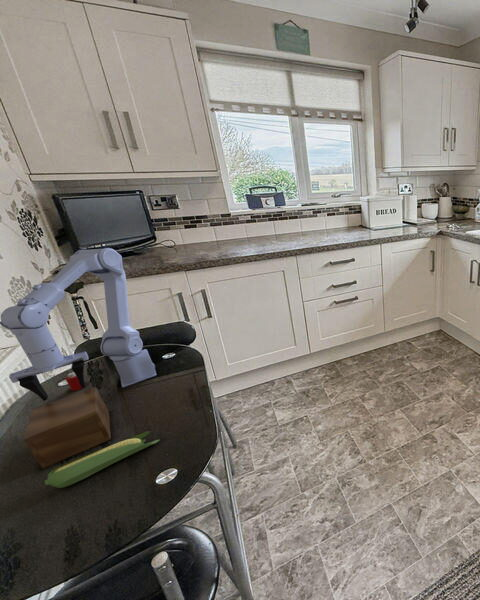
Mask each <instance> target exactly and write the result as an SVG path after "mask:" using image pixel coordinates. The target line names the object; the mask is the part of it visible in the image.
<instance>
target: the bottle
mask: <svg viewBox="0 0 480 600" xmlns="http://www.w3.org/2000/svg"><path fill="white" fill-rule="evenodd" d="M64 380H65V381H66V383H67V385H68V386H69V389H70V391H72V392H75V391H79V390H82V389H83V388H84V387H81V385H80V383H79V380H78V378H77V376H76V375H75V373H74V372H73V371H72V372H70V373H68V374H67V376H66V377H65V379H64ZM85 387H86V385H85Z"/></svg>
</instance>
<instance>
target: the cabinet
mask: <svg viewBox="0 0 480 600" xmlns="http://www.w3.org/2000/svg"><path fill="white" fill-rule="evenodd" d="M110 421H111V420H110V412H109V410H108V408H107V406H106V404H105V402H104V400H103V398H102V396H101V394H100V392H99V389H98V388H97V386H94V387H91V388H89V389H85V390H83V391H80V392H78V393H75V394H72V395H69V396H66V397H63V398H61V399H57V400H55V401H51V402H48V403H46V404H44V405H43V404H42V405H41V406H38V407H35V408H32V409H31V412H30V415H29V419H28V423H27V426H26V430H25V432H24V436H23V441H24V442H25V444H26V446H27V447H28V449H29V450H30V452H31V454H32V455H33V456H34V457H35V459H36V461H37V462H38V464H39V465H40V468H42V469H45V468H48V467H50V466H53V465H55V464H57V463H59V462H62V461H65V460H67V459H69V458H71V457H73V456H76V455H78V454H81V453H83V452H85V451H87V450H90V449H92V448H94V447H96V446H98V445H99V446H100V445H101V444H103V443H106V442H108V441H110V440H111V439H112V438H111V423H110Z"/></svg>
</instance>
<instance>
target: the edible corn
mask: <svg viewBox="0 0 480 600" xmlns="http://www.w3.org/2000/svg"><path fill="white" fill-rule="evenodd" d="M151 432H152V430H150V431H144V432H142V433H139V434H137V435H134V436H131V437H129V438H126V439H123V440H121V441H118V442H115V443H113V444H110V445H107V446H105V447H102V448H100V449H97V450H95V451H92V452H90V453H89V452H88V453H87V454H85V455H82V456H79V457H77V458H75V459H72V460H69V461H67V462H64V463H63V464H61V465H58V466H57V467H55V468H54V469H52V470H51V471H50V472H49V473H48V474H47V478H46V479H44V484H45V485H46V486H51V487H53V488H56V489H63V488H67V487H70V486H72V485H75V484H76V483H79V482H81V481H83V480H85V479H87V478H89V477H91V476H92V475H95V474H96V473H99V472H100V471H102V470H105V469H106V468H108V467H110V466H112V465H114V464H116V463H118V462H120V461H122V460H124V459H126V458H128V457H130V456H132V455H134V454H136V453H138V452H140V451H142V450H144V449H147V448H148V447H150V446H153V445H155V444H157V443H158V442H160V439H155V440H153V441H150V442H147V443H145V442H146V439H144V438H145V437H146V436H148V435H149V434H150V433H151Z"/></svg>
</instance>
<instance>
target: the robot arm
mask: <svg viewBox="0 0 480 600" xmlns="http://www.w3.org/2000/svg"><path fill="white" fill-rule="evenodd" d="M123 265H124V264H123V256H122V255H121V254H120V253H118V252H117V250H115V249H113V248H111V247H104V248H95V249H79V250H76V251H75V253H74V254H72V255H71V256H69V261H67V263H66V264H65V265H64V266H63V267H62V268H61V269H60V270H59V271H58V272H57V273H56V275H55V276H54V277H53V278H52V279H50V281H49V282H41V283H39V284H34V285H33V286H32V287H31V289H32V290H31V291H29V292H28V293H27V294H26V295H25V296H24V297H23V298H19V299H18V300H17V301H16V304H15V305H13V306H8V307H6V308H5V309H4V310H3V311H2V312H1V314H0V326H1V327H3V328H4V329H6V330H9V331H10V332H11V333H12V335H14V337H15V338H16V340H17V341H18V343H19V346H21V348H22V350H23V352H24V353H25V355H26V358H27V359H28V360H29V362H30V364H31V366H28V367H26V368H23V369H21V370H18V371H15V372H12V373H10V374H9V375H8V378H9V380H10V381H11V383H12V384H15V383H18V382H19V384H18V385H19V386H20V387H21V388H24V389H26V390H28V391H30V392H32V393H34V394H35V395H37V396H38V397H39V398H40V399H41V400H42V401H43V402H45V401H47V400H48V399H49V398H48V393H47V391H46V390H45V389H44V387H43V386H42V384H41V382H40V380H39V378H38V375H41V374H44V373H48V372H51V371H54V370H57V369H61V368H63V367H66V366H70V365H71V367H70V368H71V371H72V372H74V373H75V375H76V376H77V378H78V380H79V383H80V385H81V387H83V388H85V387H86V386H85V385H86V384H87V383H86V381H85V376H84V369H85V362H86V361H89V355H88V352H87V351H82V352H79V353H73V354H69V355H63V354H62V352H61V350H60V348H59V345H58V344H57V341H56V340H55V338H54V336H53V335H52V332H51V331H50V329H49V327H48V325H47V323H48V321H49V318H50V317H49V316H50V313H51V311H52V310H53V309H55V307H56V306H57V305H58V304H59V303H60V302H61V301H62V300H63V299H64V298H65V297H66V293H65V290H66V289H67V288H68V287H70V286H71V285H72V284H73V283H74V282H75V281H77V280H78V279H79V278H80V277H82V276H83V275H84V274H86V273H89V274H92V275H95V276H97V277H98V278H100V279H101V280H103V288H104V298H105V310H106V319H107V330H106V331H104V332H103V334H102V335H101V337H102V339H101V344H100V347H99V348H100V352H101V354H102V355H104V356H105V357H109V360H112V362H113V365H114V367H115V369H116V372H117V373H118V375H119V377H120V385H121V388H126V387H130V386H132V385H134V384H137V383H140V382H142V381H146V380H147V379H151V378H154V377H156V376H157V371H156V365H155V363H153V361H152V359H151V356H150V354H149V351H148V349H147V348H146V349H145V348H144V349H143V346H144V344H143V340H142V338H141V337H140V331H138V330H137V329H135V328H134V327H132V325H131V319H130V317H131V316H130V308H129V297H128V287H127V276H126V272H125V270H124V266H123Z"/></svg>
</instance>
